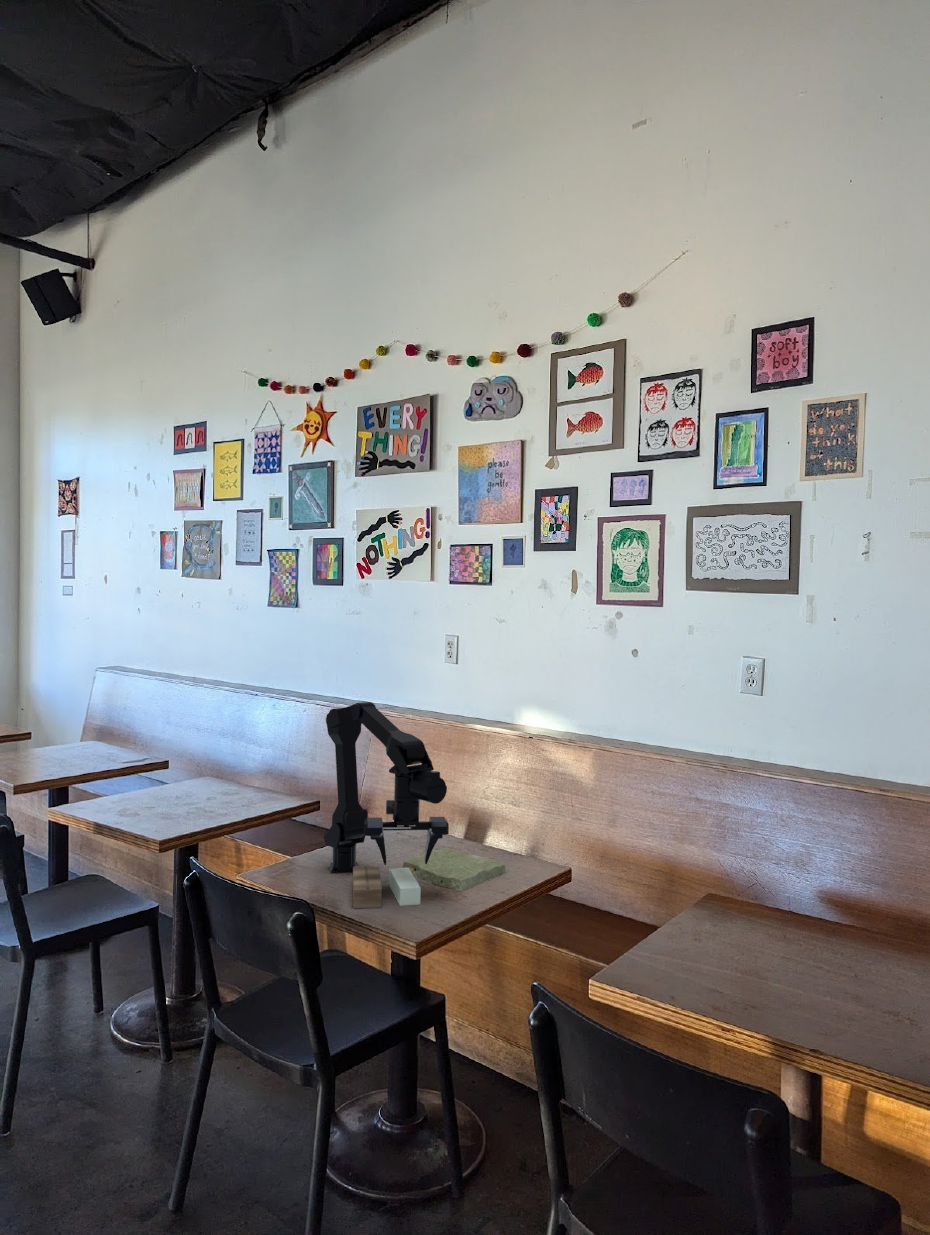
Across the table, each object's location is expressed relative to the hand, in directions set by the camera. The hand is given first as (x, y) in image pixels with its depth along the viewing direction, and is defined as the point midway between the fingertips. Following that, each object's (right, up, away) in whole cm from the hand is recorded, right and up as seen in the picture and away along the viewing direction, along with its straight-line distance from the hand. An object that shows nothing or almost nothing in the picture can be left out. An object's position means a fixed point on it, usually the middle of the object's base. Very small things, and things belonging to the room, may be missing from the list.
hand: (405, 864), depth 194 cm
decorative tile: (+10, -8, +16) cm, 20 cm away
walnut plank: (-9, -7, -1) cm, 11 cm away
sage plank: (0, -7, 0) cm, 7 cm away
